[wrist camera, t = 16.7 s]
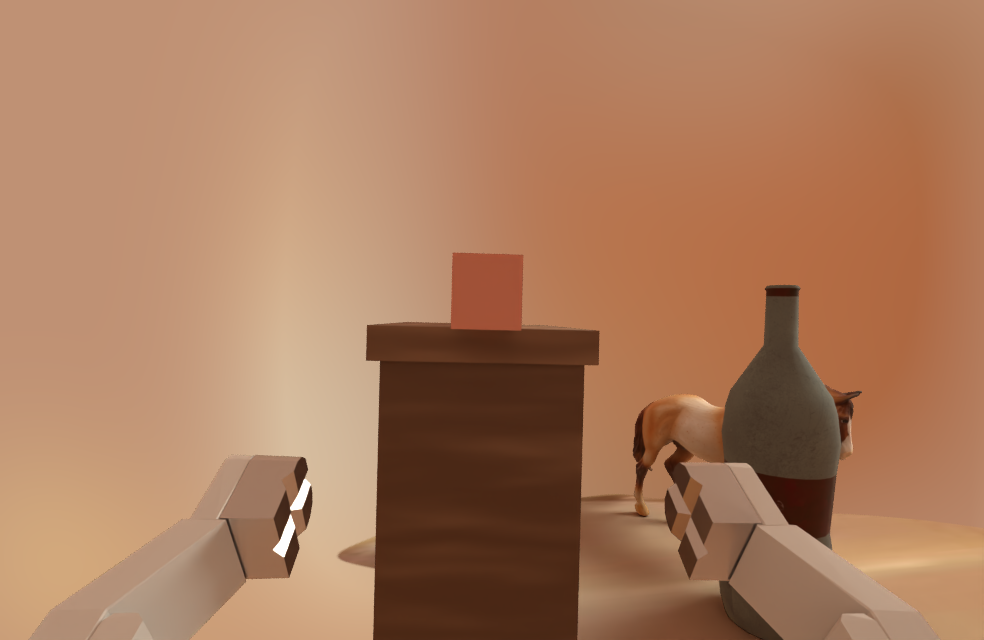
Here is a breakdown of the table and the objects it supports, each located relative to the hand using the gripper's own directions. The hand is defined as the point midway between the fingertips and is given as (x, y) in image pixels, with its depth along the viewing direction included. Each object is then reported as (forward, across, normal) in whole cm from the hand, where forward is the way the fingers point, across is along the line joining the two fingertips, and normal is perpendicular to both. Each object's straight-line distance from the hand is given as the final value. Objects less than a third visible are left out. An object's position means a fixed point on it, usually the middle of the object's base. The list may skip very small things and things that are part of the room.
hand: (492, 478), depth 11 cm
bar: (+17, 0, +6) cm, 19 cm away
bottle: (+16, -28, +36) cm, 48 cm away
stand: (+4, 0, +28) cm, 29 cm away
